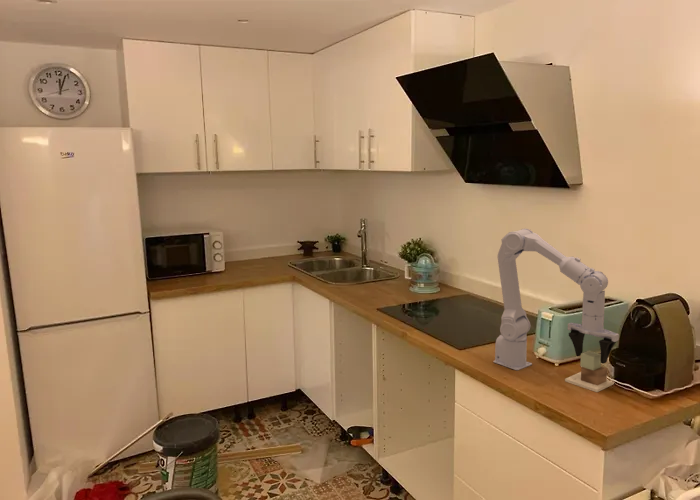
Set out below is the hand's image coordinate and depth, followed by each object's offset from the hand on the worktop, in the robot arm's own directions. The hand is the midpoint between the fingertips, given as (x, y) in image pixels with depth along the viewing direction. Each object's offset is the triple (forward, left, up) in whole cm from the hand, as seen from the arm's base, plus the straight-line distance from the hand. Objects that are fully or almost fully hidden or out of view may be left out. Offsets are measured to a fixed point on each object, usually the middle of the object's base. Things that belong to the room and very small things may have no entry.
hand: (591, 358), depth 155 cm
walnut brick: (+1, 0, -6) cm, 6 cm away
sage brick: (0, 0, -2) cm, 2 cm away
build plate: (0, 0, -7) cm, 7 cm away
